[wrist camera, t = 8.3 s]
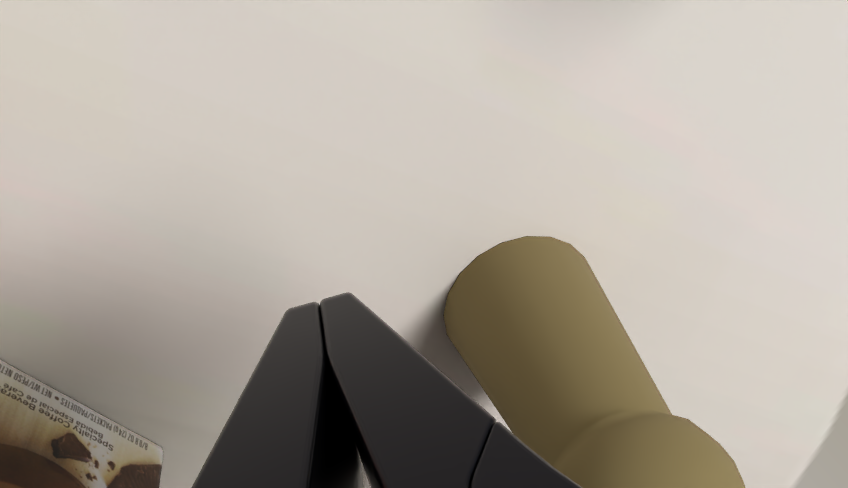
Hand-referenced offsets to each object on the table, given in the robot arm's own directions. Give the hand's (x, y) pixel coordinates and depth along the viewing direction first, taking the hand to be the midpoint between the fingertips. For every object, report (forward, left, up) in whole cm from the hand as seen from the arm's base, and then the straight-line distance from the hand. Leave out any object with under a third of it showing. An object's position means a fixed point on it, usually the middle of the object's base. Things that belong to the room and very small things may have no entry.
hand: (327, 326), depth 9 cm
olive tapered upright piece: (-11, -7, -12) cm, 17 cm away
